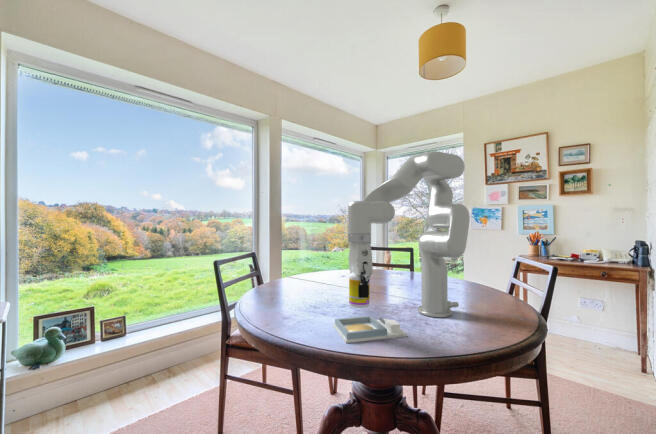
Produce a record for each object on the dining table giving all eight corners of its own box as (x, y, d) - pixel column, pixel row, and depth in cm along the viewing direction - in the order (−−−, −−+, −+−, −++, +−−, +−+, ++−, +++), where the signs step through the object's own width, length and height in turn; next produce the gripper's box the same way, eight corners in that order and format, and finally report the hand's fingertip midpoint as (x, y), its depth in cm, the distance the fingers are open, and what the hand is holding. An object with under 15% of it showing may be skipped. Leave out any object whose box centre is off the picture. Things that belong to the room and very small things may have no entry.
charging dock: (387, 321, 104) (387, 312, 104) (407, 336, 90) (407, 325, 91) (333, 326, 99) (333, 316, 99) (345, 343, 86) (345, 332, 86)
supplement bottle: (368, 309, 90) (368, 267, 90) (347, 307, 91) (347, 266, 92) (370, 303, 97) (370, 264, 97) (350, 302, 98) (350, 263, 98)
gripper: (381, 240, 87) (381, 300, 87) (360, 237, 104) (360, 287, 103) (357, 241, 85) (357, 302, 85) (340, 237, 102) (340, 289, 102)
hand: (359, 294), depth 94 cm, fingers closed on supplement bottle, 6 cm apart
